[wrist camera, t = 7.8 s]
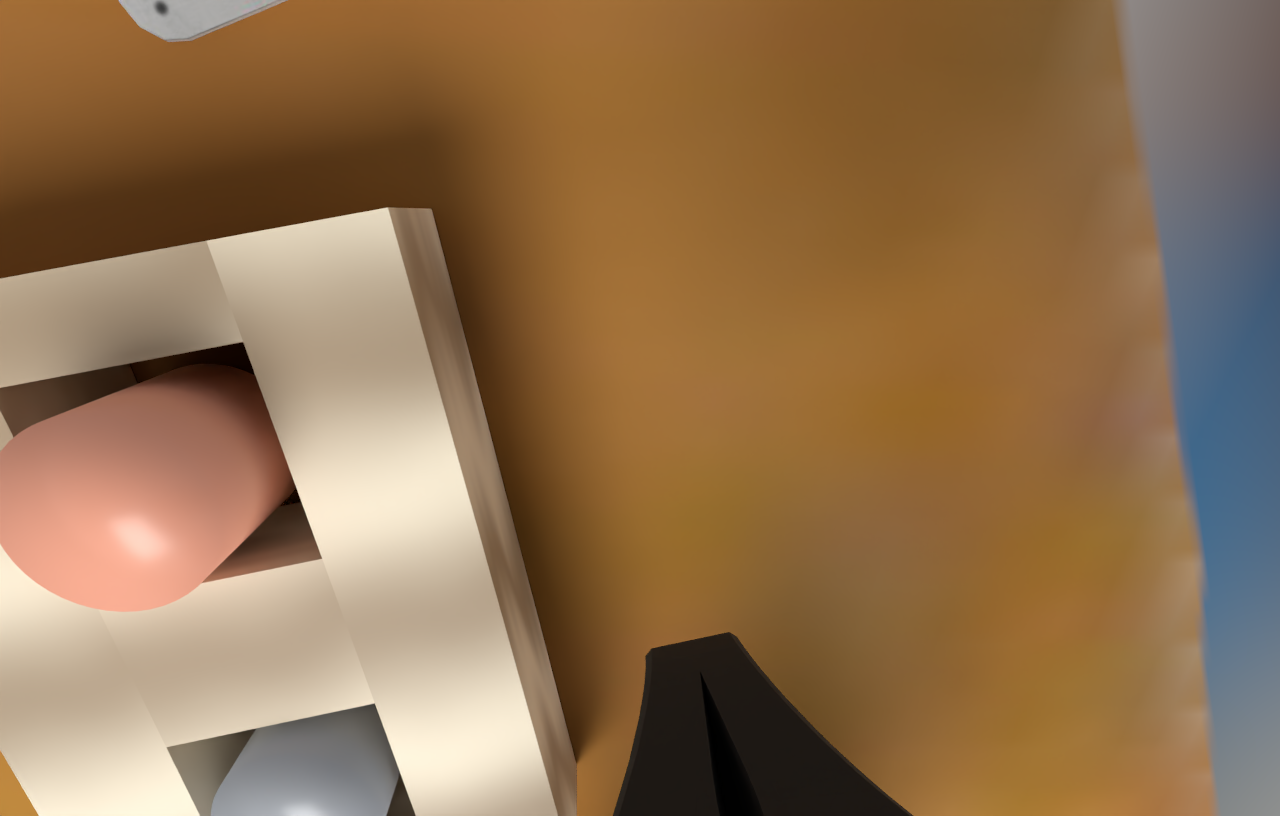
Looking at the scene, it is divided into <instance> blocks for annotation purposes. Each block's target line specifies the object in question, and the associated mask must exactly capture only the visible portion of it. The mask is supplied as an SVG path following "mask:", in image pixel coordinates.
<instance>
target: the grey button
mask: <svg viewBox="0 0 1280 816" xmlns="http://www.w3.org/2000/svg"><path fill="white" fill-rule="evenodd" d="M399 774H400V771H399V768H398V765H397V763H396V760H395V757H394V754H393V752H392V749H391V746H390V743H389V741H388V738H387V735H386V732H385V730H384V727H383V724H382V721H381V719H380V716H379V713H378V711H377V708H376V705H375V703H374V704H369V705H365V706H360V707H355V708H350V709H346V710H341V711H336V712H331V713H327V714H322V715H317V716H313V717H308V718H303V719H298V720H294V721H289V722H284V723H279V724H275V725H270V726H265V727H260V728H256V729H255V731H254V732H253V734H252V736H251V737H250V739H249V740H248V742H247V744H246V745H245V747H244V749H243V750H242V752H241V753H240V755H239V757H238V758H237V760H236V761H235V763H234V765H233V766H232V768H231V769H230V771H229V773H228V774H227V776H226V777H225V779H224V781H223V782H222V784H221V785H220V787H219V789H218V791H217V793H216V794H215V797H214V800H213V803H212V808H211V816H386V815H387V812H388V809H389V806H390V803H391V800H392V796H393V793H394V790H395V787H396V784H397V781H398V778H399Z"/></svg>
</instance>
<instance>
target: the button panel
mask: <svg viewBox="0 0 1280 816" xmlns="http://www.w3.org/2000/svg"><path fill="white" fill-rule="evenodd" d="M240 342H243V343H244V345H245V348H246V351H247V354H248V356H249V359H250V362H251V365H252V367H253V370H254V373H255V376H256V378H257V381H258V384H259V387H260V389H261V392H262V395H263V398H264V400H265V403H266V406H267V409H268V411H269V414H270V417H271V420H272V422H273V425H274V428H275V431H276V433H277V436H278V439H279V442H280V444H281V447H282V450H283V453H284V455H285V458H286V461H287V463H288V466H289V469H290V472H291V474H292V477H293V480H294V483H295V485H296V488H297V491H298V494H299V496H300V499H301V502H299V503H294V504H289V505H284V506H279V507H278V508H277V509H276V510H275V511H274V512H273V513H272V514H271V515H270V516H269V517H268V518H267V519H266V520H265V521H264V522H263V523H262V524H261V525H260V526H259V527H258V528H257V529H256V530H255V531H254V532H253V533H252V534H250V535H249V536H248V537H247V538H246V539H245V540H244V541H243V542H242V543H241V544H240V545H239V546H238V547H237V548H236V549H235V550H234V551H233V552H232V553H231V554H230V555H229V556H228V557H227V558H226V559H225V560H224V561H223V562H222V563H221V564H220V565H219V566H218V567H217V568H216V569H215V570H214V571H213V572H212V573H211V574H210V575H209V576H208V577H207V578H206V579H205V580H204V581H203V582H202V583H201V584H200V585H199V586H198V587H197V588H195V589H194V590H193V591H191V592H190V593H189V594H187V595H186V596H184V597H182V598H180V599H178V600H177V601H175V602H172V603H170V604H167V605H165V606H161V607H157V608H154V609H150V610H143V611H133V612H117V611H106V610H100V609H94V608H90V607H86V606H83V605H79V604H76V603H74V602H71V601H69V600H66V599H63V598H61V597H59V596H57V595H56V594H54V593H52V592H50V591H48V590H47V589H45V588H43V587H42V586H40V585H39V584H37V583H36V582H35V581H33V580H32V579H31V578H30V577H28V576H27V575H26V574H25V573H24V572H23V571H22V570H21V569H20V568H19V567H18V566H17V565H16V564H15V563H14V562H13V561H12V560H11V558H10V557H9V556H8V555H7V553H6V552H5V551H4V549H3V547H2V546H1V544H0V750H1V752H2V754H3V755H4V757H5V759H6V760H7V762H8V764H9V765H10V767H11V769H12V771H13V772H14V774H15V776H16V777H17V779H18V781H19V782H20V784H21V786H22V788H23V789H24V791H25V793H26V794H27V796H28V798H29V799H30V801H31V803H32V805H33V806H34V808H35V810H36V811H37V813H38V815H39V816H211V808H212V803H213V800H214V797H215V794H216V793H217V791H218V789H219V787H220V785H221V784H222V782H223V781H224V779H225V777H226V776H227V774H228V773H229V771H230V769H231V768H232V766H233V765H234V763H235V761H236V760H237V758H238V757H239V755H240V753H241V752H242V750H243V749H244V747H245V745H246V744H247V742H248V740H249V739H250V737H251V736H252V734H253V732H254V731H255V729H256V728H260V727H265V726H270V725H275V724H279V723H284V722H289V721H294V720H298V719H303V718H308V717H313V716H317V715H322V714H327V713H331V712H336V711H341V710H346V709H350V708H355V707H360V706H365V705H369V704H374V703H375V705H376V708H377V711H378V713H379V716H380V719H381V721H382V724H383V727H384V730H385V732H386V735H387V738H388V741H389V743H390V746H391V749H392V752H393V754H394V757H395V760H396V763H397V765H398V768H399V771H400V774H399V778H398V781H397V784H396V787H395V790H394V793H393V796H392V800H391V803H390V806H389V809H388V812H387V815H386V816H577V765H576V761H575V757H574V753H573V749H572V745H571V742H570V738H569V734H568V730H567V726H566V722H565V719H564V715H563V711H562V707H561V703H560V699H559V696H558V692H557V688H556V684H555V680H554V676H553V673H552V669H551V665H550V661H549V657H548V653H547V650H546V646H545V642H544V638H543V634H542V630H541V627H540V623H539V619H538V615H537V611H536V607H535V603H534V600H533V596H532V592H531V588H530V584H529V580H528V577H527V573H526V569H525V565H524V561H523V557H522V554H521V550H520V546H519V542H518V538H517V534H516V531H515V527H514V523H513V519H512V515H511V511H510V508H509V504H508V500H507V496H506V492H505V488H504V485H503V481H502V477H501V473H500V469H499V465H498V462H497V458H496V454H495V450H494V446H493V442H492V439H491V435H490V431H489V427H488V423H487V419H486V416H485V412H484V408H483V404H482V400H481V396H480V393H479V389H478V385H477V381H476V377H475V373H474V370H473V366H472V362H471V358H470V354H469V350H468V346H467V343H466V339H465V335H464V331H463V327H462V323H461V320H460V316H459V312H458V308H457V304H456V300H455V297H454V293H453V289H452V285H451V281H450V277H449V274H448V270H447V266H446V262H445V258H444V254H443V251H442V247H441V243H440V239H439V235H438V231H437V228H436V224H435V220H434V216H433V212H432V209H425V208H390V207H387V208H382V209H377V210H371V211H366V212H360V213H355V214H349V215H344V216H338V217H333V218H328V219H322V220H317V221H311V222H306V223H300V224H295V225H289V226H284V227H278V228H273V229H268V230H262V231H257V232H251V233H246V234H240V235H235V236H229V237H224V238H219V239H213V240H208V241H202V242H197V243H191V244H186V245H180V246H175V247H169V248H164V249H159V250H153V251H148V252H142V253H137V254H131V255H126V256H120V257H115V258H109V259H104V260H99V261H93V262H88V263H82V264H77V265H71V266H66V267H60V268H55V269H50V270H44V271H39V272H33V273H28V274H22V275H17V276H11V277H6V278H0V451H1V450H2V449H3V448H4V447H5V446H6V444H7V443H8V442H9V441H10V440H11V439H13V438H14V437H15V436H16V435H17V434H19V433H20V432H21V431H23V430H25V429H27V428H28V427H30V426H32V425H34V424H36V423H39V422H41V421H44V420H46V419H49V418H51V417H54V416H56V415H59V414H61V413H64V412H67V411H69V410H72V409H74V408H77V407H79V406H82V405H85V404H87V403H90V402H92V401H95V400H97V399H100V398H103V397H105V396H108V395H110V394H113V393H115V392H118V391H121V390H123V389H126V388H128V387H131V386H133V385H136V384H138V383H137V381H136V379H135V376H134V374H133V371H132V369H131V367H130V364H129V363H134V362H139V361H145V360H150V359H155V358H160V357H166V356H171V355H176V354H182V353H187V352H192V351H197V350H203V349H208V348H213V347H218V346H224V345H229V344H234V343H240Z"/></svg>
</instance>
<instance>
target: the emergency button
mask: <svg viewBox="0 0 1280 816" xmlns="http://www.w3.org/2000/svg"><path fill="white" fill-rule="evenodd" d="M285 1H287V0H119V2H120V4H121V5H122V6H123V7H124V8H125V10H126V11H127V12H128V13H129V15H130V16H131V17H132V18H133V19H134V21H135V22H136V23H137V24H138V25H139V27H141V28H143V29H145V30H147V31H148V32H150V33H152V34H154V35H156V36H158V37H160V38H162V39H163V40H166V41H168V42H177V41H192V40H194V39H196V38H199V37H201V36H204V35H206V34H208V33H211V32H213V31H216V30H218V29H220V28H223V27H225V26H228V25H230V24H232V23H235V22H237V21H239V20H242V19H244V18H247V17H249V16H251V15H254V14H256V13H259V12H261V11H263V10H266V9H268V8H270V7H273V6H275V5H278V4H280V3H282V2H285Z"/></svg>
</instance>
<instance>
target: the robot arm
mask: <svg viewBox="0 0 1280 816" xmlns="http://www.w3.org/2000/svg"><path fill="white" fill-rule="evenodd" d="M613 816H913V815H912V814H911V813H909V812H908V811H907V810H906V809H904V808H903V807H902V806H901V805H899V804H898V803H897V802H896V801H894V800H893V799H892V798H891V797H889V796H888V795H887V794H886V793H885V792H884V791H882V790H881V789H880V788H879V787H878V786H876V785H875V784H874V783H873V782H872V781H871V780H870V779H868V778H867V777H866V776H865V775H864V774H863V773H862V772H860V771H859V770H858V769H857V768H856V767H855V766H854V765H853V764H852V763H851V762H850V761H848V760H847V759H846V758H845V757H844V756H843V755H842V754H841V753H840V752H839V751H838V750H837V749H835V748H834V747H833V746H832V745H831V744H830V743H829V742H828V741H827V740H826V739H825V738H824V737H823V736H822V735H821V734H820V733H819V732H818V731H817V730H816V729H815V728H814V727H813V726H812V725H811V724H810V723H809V722H808V721H807V720H806V719H805V718H804V717H803V715H802V714H801V713H800V712H799V711H798V710H797V709H796V708H795V707H794V706H793V705H792V704H791V703H790V702H789V701H788V700H787V699H786V698H785V696H784V695H783V694H782V693H781V692H780V691H779V690H778V689H777V688H776V686H775V685H774V684H773V683H772V682H771V681H770V679H769V678H768V677H767V676H766V675H765V674H764V672H763V671H762V670H761V669H760V667H759V666H758V665H757V664H756V663H755V661H754V660H753V659H752V657H751V656H750V655H749V653H748V652H747V651H746V649H745V648H744V647H743V645H742V644H741V642H740V641H739V639H738V638H737V637H736V636H735V635H733V634H731V633H730V632H728V633H723V634H718V635H714V636H709V637H704V638H699V639H695V640H690V641H685V642H680V643H676V644H671V645H666V646H661V647H657V648H652V649H651V650H650V651H649V653H648V654H647V655H646V673H645V684H644V692H643V699H642V705H641V710H640V716H639V721H638V725H637V730H636V734H635V738H634V743H633V747H632V751H631V756H630V760H629V764H628V767H627V771H626V774H625V778H624V781H623V784H622V787H621V791H620V794H619V797H618V801H617V804H616V807H615V811H614V814H613Z"/></svg>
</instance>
